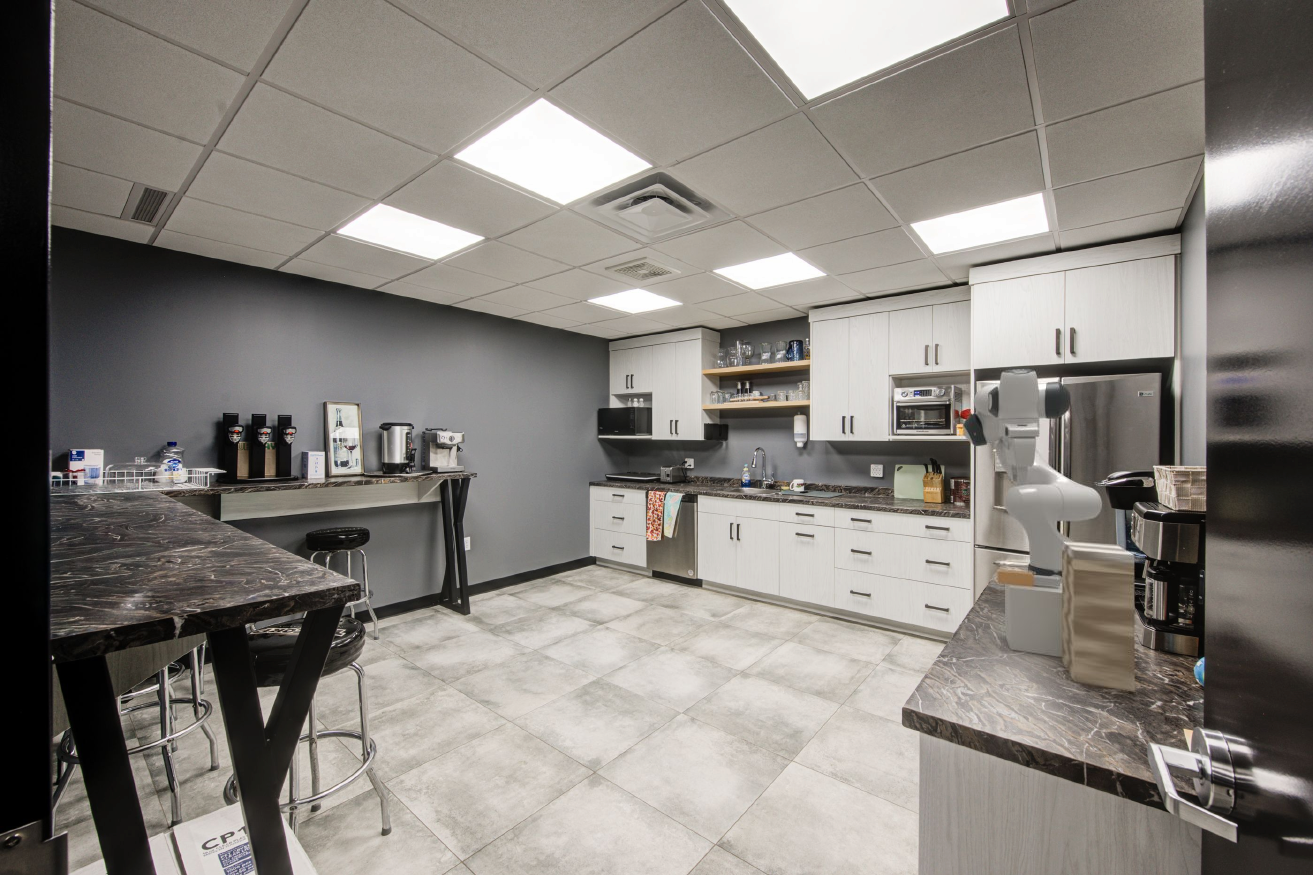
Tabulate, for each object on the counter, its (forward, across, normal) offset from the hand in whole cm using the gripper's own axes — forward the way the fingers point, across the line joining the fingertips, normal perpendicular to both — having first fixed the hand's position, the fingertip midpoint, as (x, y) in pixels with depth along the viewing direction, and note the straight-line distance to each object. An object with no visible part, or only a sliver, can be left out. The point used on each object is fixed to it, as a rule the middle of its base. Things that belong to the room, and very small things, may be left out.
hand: (1019, 482), depth 140 cm
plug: (+26, +4, +1) cm, 26 cm away
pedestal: (+41, +4, +4) cm, 41 cm away
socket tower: (+41, +18, +12) cm, 46 cm away
